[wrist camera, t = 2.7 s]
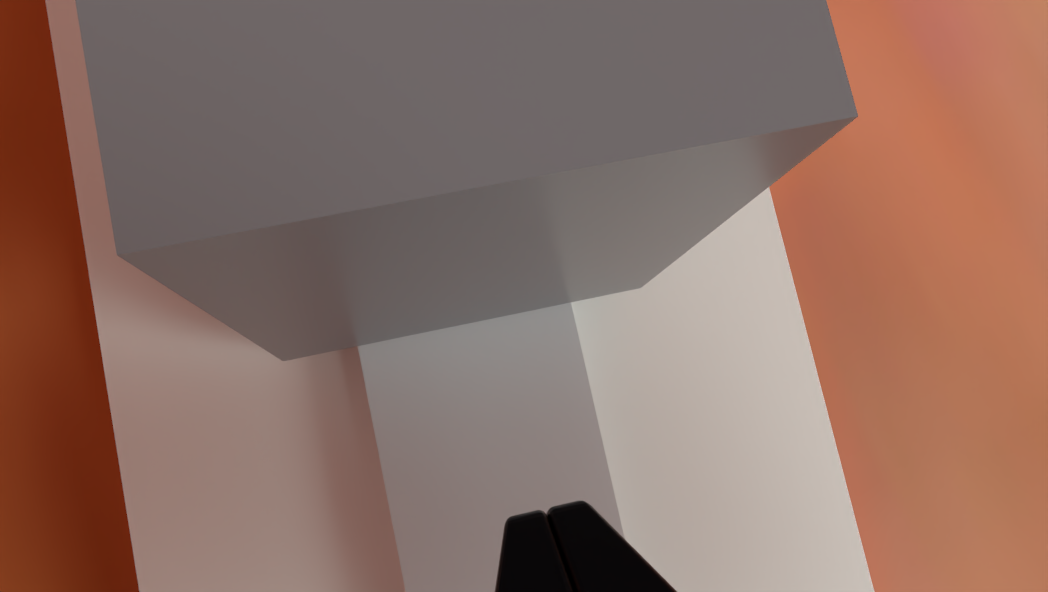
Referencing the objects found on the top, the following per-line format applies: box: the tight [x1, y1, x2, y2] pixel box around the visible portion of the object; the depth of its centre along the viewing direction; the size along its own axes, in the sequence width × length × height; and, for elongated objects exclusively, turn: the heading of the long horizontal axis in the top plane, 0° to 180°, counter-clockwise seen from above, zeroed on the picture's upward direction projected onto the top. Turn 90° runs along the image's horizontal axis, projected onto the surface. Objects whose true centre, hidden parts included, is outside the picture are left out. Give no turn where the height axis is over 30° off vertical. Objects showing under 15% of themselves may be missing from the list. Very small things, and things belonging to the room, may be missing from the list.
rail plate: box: [45, 0, 874, 592], centre depth 17 cm, size 20×12×3 cm, turn 12°
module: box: [75, 0, 858, 361], centre depth 12 cm, size 5×6×8 cm
